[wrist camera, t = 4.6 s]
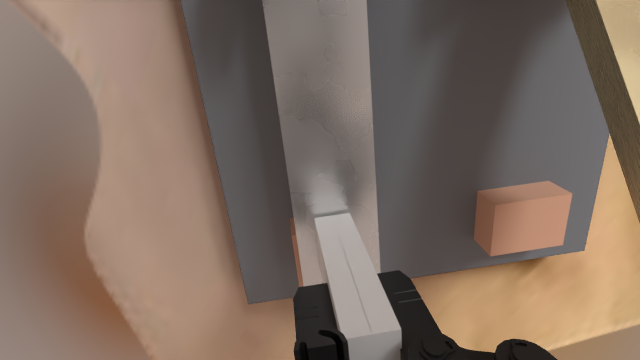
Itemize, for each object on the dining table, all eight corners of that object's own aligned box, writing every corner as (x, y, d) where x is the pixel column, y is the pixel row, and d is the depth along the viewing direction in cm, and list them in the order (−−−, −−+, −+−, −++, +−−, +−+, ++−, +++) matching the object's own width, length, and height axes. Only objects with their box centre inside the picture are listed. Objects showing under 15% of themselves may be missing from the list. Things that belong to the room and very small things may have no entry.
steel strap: (248, -102, 12) (244, -122, 11) (351, -110, 12) (362, -131, 11) (304, 291, 18) (307, 314, 16) (374, 280, 18) (383, 302, 17)
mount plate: (162, -126, 15) (95, -222, 9) (631, -163, 16) (821, -264, 10) (250, 281, 22) (242, 364, 17) (560, 233, 24) (647, 295, 18)
